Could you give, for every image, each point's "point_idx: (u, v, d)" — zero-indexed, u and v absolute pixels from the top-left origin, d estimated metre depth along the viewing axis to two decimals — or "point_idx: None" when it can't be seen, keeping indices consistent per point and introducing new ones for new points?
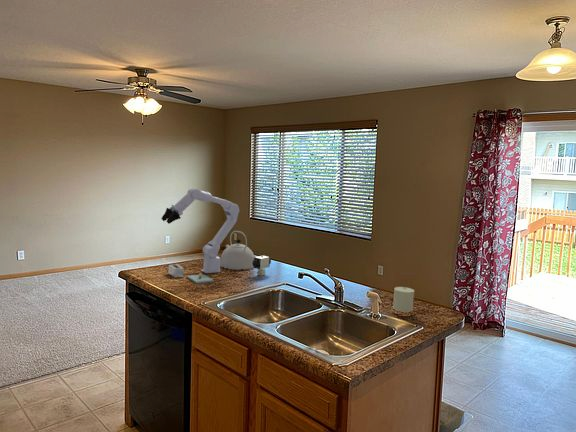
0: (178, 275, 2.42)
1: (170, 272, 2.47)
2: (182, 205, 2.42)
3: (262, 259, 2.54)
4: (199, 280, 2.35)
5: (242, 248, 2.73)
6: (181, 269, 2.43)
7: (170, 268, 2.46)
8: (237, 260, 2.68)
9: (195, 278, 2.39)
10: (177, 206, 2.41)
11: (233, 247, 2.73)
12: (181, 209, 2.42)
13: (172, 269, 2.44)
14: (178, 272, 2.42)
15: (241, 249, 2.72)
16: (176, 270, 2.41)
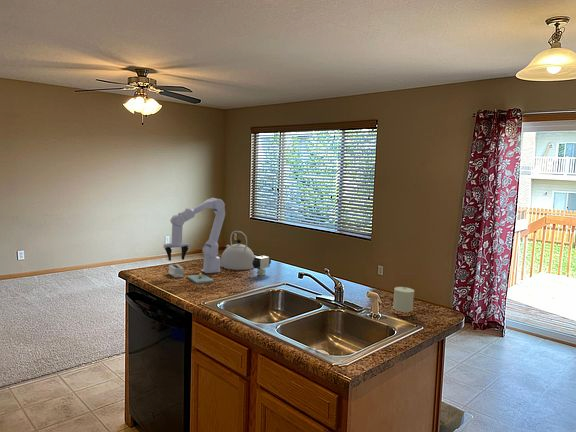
0: (178, 275, 2.42)
1: (170, 272, 2.47)
2: None
3: (262, 259, 2.54)
4: (199, 280, 2.35)
5: (242, 248, 2.73)
6: (181, 269, 2.43)
7: (170, 268, 2.46)
8: (237, 260, 2.68)
9: (195, 278, 2.39)
10: (181, 242, 2.44)
11: (233, 247, 2.73)
12: None
13: (172, 269, 2.44)
14: (178, 272, 2.42)
15: (241, 249, 2.72)
16: (176, 270, 2.41)
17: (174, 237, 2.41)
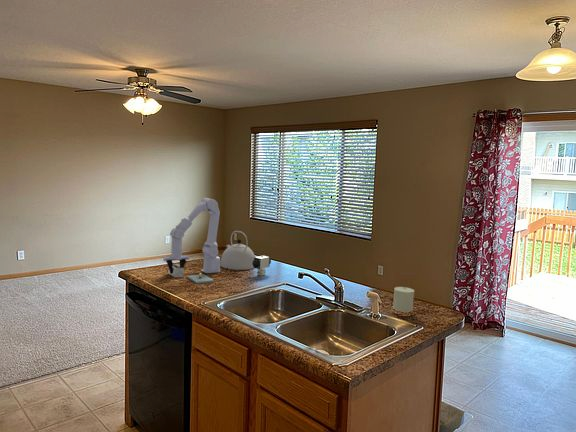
0: (178, 275, 2.42)
1: None
2: (181, 251, 2.46)
3: (262, 259, 2.54)
4: (199, 280, 2.35)
5: (243, 248, 2.73)
6: (181, 269, 2.43)
7: None
8: (238, 260, 2.68)
9: (195, 278, 2.39)
10: (180, 255, 2.45)
11: (234, 247, 2.73)
12: None
13: (172, 269, 2.44)
14: (178, 272, 2.42)
15: (242, 249, 2.72)
16: (176, 270, 2.41)
17: (174, 250, 2.42)
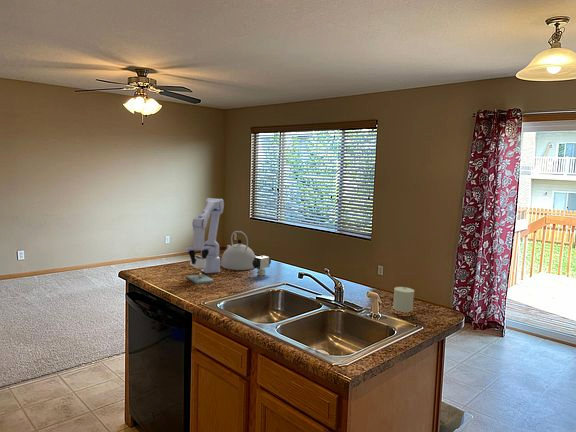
0: (200, 266, 2.36)
1: None
2: None
3: (262, 259, 2.54)
4: (199, 280, 2.35)
5: (243, 248, 2.73)
6: (203, 260, 2.36)
7: None
8: (238, 260, 2.68)
9: (195, 278, 2.39)
10: (203, 245, 2.38)
11: (234, 247, 2.73)
12: None
13: None
14: (201, 263, 2.36)
15: (242, 250, 2.71)
16: (198, 261, 2.35)
17: (196, 240, 2.36)
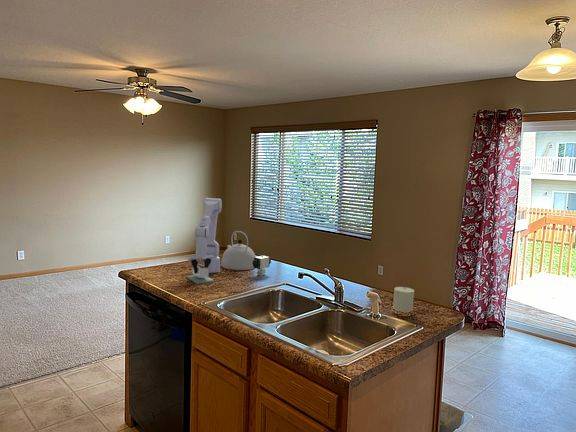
0: (203, 275, 2.36)
1: None
2: (206, 250, 2.39)
3: (262, 259, 2.54)
4: (199, 280, 2.35)
5: (243, 248, 2.73)
6: (206, 269, 2.36)
7: None
8: (238, 260, 2.68)
9: (195, 278, 2.39)
10: (205, 254, 2.38)
11: (234, 247, 2.73)
12: None
13: (197, 269, 2.37)
14: (203, 272, 2.35)
15: (242, 250, 2.71)
16: (201, 270, 2.35)
17: (199, 249, 2.35)
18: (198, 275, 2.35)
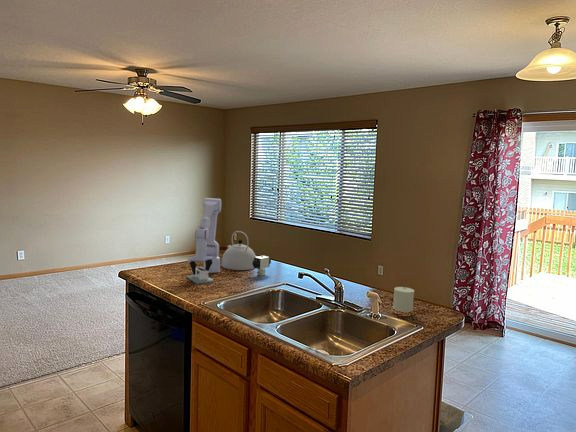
0: (203, 278, 2.36)
1: (194, 275, 2.40)
2: (206, 251, 2.39)
3: (262, 259, 2.54)
4: None
5: (244, 248, 2.72)
6: (206, 272, 2.36)
7: None
8: (238, 260, 2.67)
9: (195, 278, 2.39)
10: (205, 256, 2.38)
11: (234, 247, 2.73)
12: None
13: (197, 272, 2.37)
14: (203, 275, 2.36)
15: (243, 250, 2.71)
16: (201, 273, 2.35)
17: (198, 251, 2.36)
18: (198, 278, 2.36)
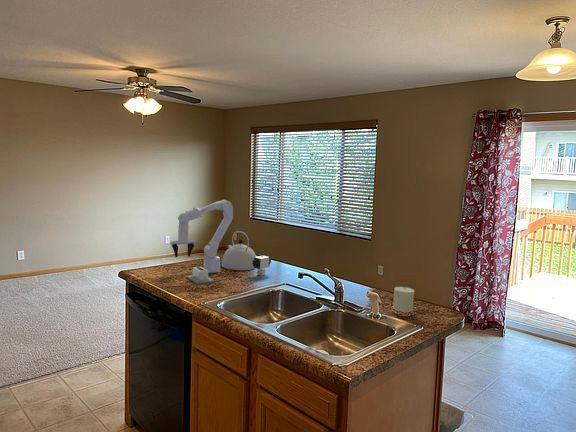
0: (203, 278, 2.36)
1: (194, 275, 2.40)
2: None
3: (262, 259, 2.54)
4: None
5: (244, 248, 2.72)
6: (206, 272, 2.36)
7: (194, 271, 2.40)
8: (239, 260, 2.67)
9: (195, 278, 2.39)
10: (187, 239, 2.51)
11: (235, 247, 2.72)
12: None
13: (197, 272, 2.37)
14: (203, 275, 2.36)
15: (243, 250, 2.71)
16: (201, 273, 2.35)
17: (181, 234, 2.48)
18: (198, 278, 2.36)
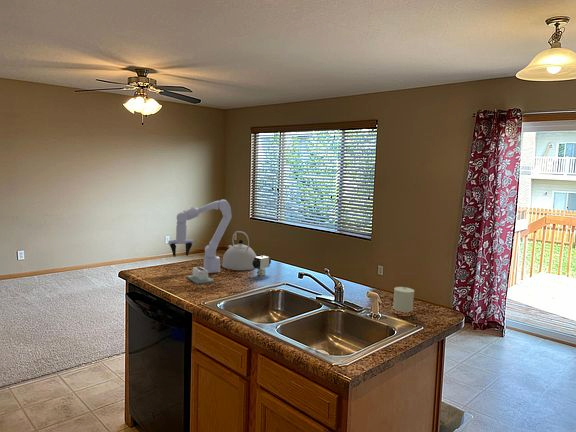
0: (203, 278, 2.36)
1: (194, 275, 2.40)
2: None
3: (262, 259, 2.54)
4: None
5: (244, 249, 2.72)
6: (206, 272, 2.36)
7: (194, 271, 2.40)
8: (239, 261, 2.67)
9: (195, 278, 2.39)
10: (185, 239, 2.52)
11: (235, 247, 2.72)
12: None
13: (197, 272, 2.37)
14: (203, 275, 2.36)
15: (243, 250, 2.71)
16: (201, 273, 2.35)
17: (178, 234, 2.50)
18: (198, 278, 2.36)
